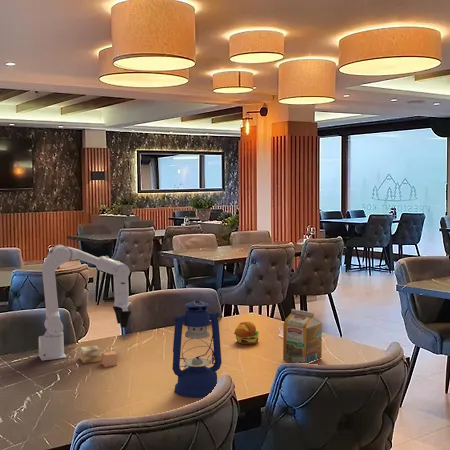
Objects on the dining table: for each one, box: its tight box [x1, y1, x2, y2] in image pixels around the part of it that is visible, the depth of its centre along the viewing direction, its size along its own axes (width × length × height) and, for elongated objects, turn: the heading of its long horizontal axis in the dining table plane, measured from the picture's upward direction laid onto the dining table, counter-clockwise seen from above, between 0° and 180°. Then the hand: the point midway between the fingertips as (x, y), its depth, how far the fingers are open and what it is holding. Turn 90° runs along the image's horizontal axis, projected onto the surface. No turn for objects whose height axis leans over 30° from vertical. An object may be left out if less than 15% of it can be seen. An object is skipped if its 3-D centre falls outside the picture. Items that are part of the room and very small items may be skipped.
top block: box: [80, 344, 101, 357], centre depth 239 cm, size 6×6×2 cm
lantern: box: [171, 300, 223, 399], centre depth 203 cm, size 17×15×30 cm
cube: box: [101, 350, 118, 368], centre depth 232 cm, size 4×4×4 cm
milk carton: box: [282, 308, 323, 364], centre depth 237 cm, size 11×11×19 cm
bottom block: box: [79, 352, 102, 364], centre depth 239 cm, size 7×7×2 cm
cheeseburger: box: [233, 321, 260, 345], centre depth 262 cm, size 10×11×10 cm
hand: (122, 325), depth 252 cm, fingers open, 7 cm apart
